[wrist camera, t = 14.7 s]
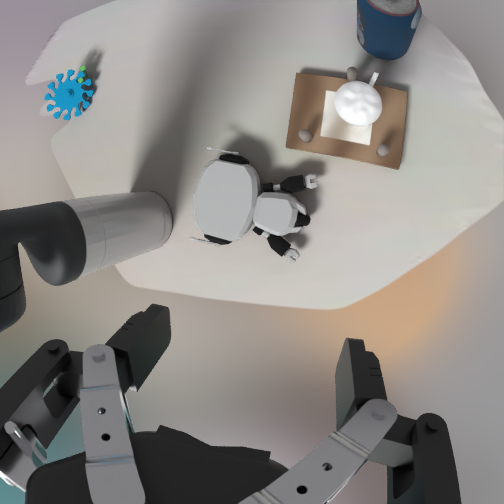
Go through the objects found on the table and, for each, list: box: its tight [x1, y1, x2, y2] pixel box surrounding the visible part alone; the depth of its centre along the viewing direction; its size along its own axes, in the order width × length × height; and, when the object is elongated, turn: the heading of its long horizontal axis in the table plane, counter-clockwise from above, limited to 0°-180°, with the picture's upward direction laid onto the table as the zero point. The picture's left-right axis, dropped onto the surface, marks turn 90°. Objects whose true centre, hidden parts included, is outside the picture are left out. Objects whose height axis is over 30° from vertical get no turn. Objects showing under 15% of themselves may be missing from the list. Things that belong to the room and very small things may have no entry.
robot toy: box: [189, 147, 318, 263], centre depth 37 cm, size 12×4×15 cm
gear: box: [45, 66, 94, 120], centre depth 42 cm, size 11×6×10 cm
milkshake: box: [334, 72, 382, 133], centre depth 26 cm, size 4×5×10 cm
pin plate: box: [286, 67, 407, 170], centre depth 31 cm, size 14×11×4 cm
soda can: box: [357, 0, 422, 60], centre depth 23 cm, size 7×7×12 cm
